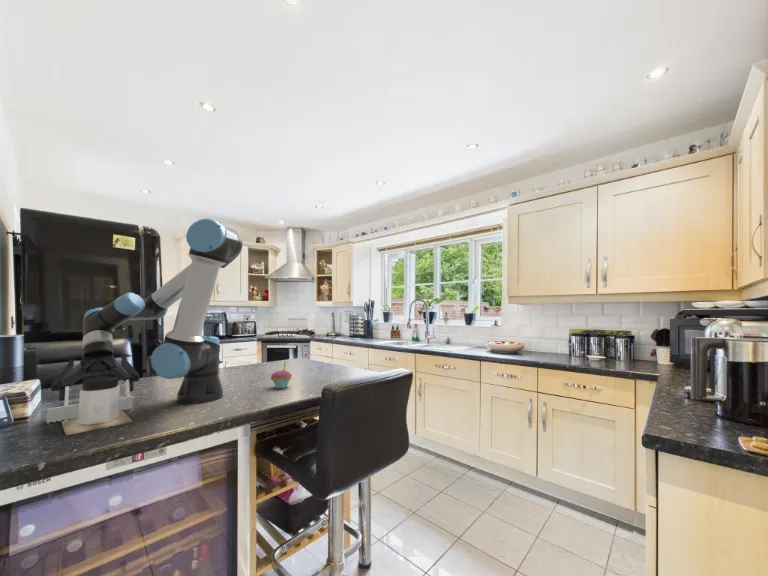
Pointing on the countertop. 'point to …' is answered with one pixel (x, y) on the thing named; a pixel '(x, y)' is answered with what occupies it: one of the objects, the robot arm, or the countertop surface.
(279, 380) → the cupcake
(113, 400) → the jar
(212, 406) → the countertop surface
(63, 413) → the acrylic wall
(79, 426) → the oak board
